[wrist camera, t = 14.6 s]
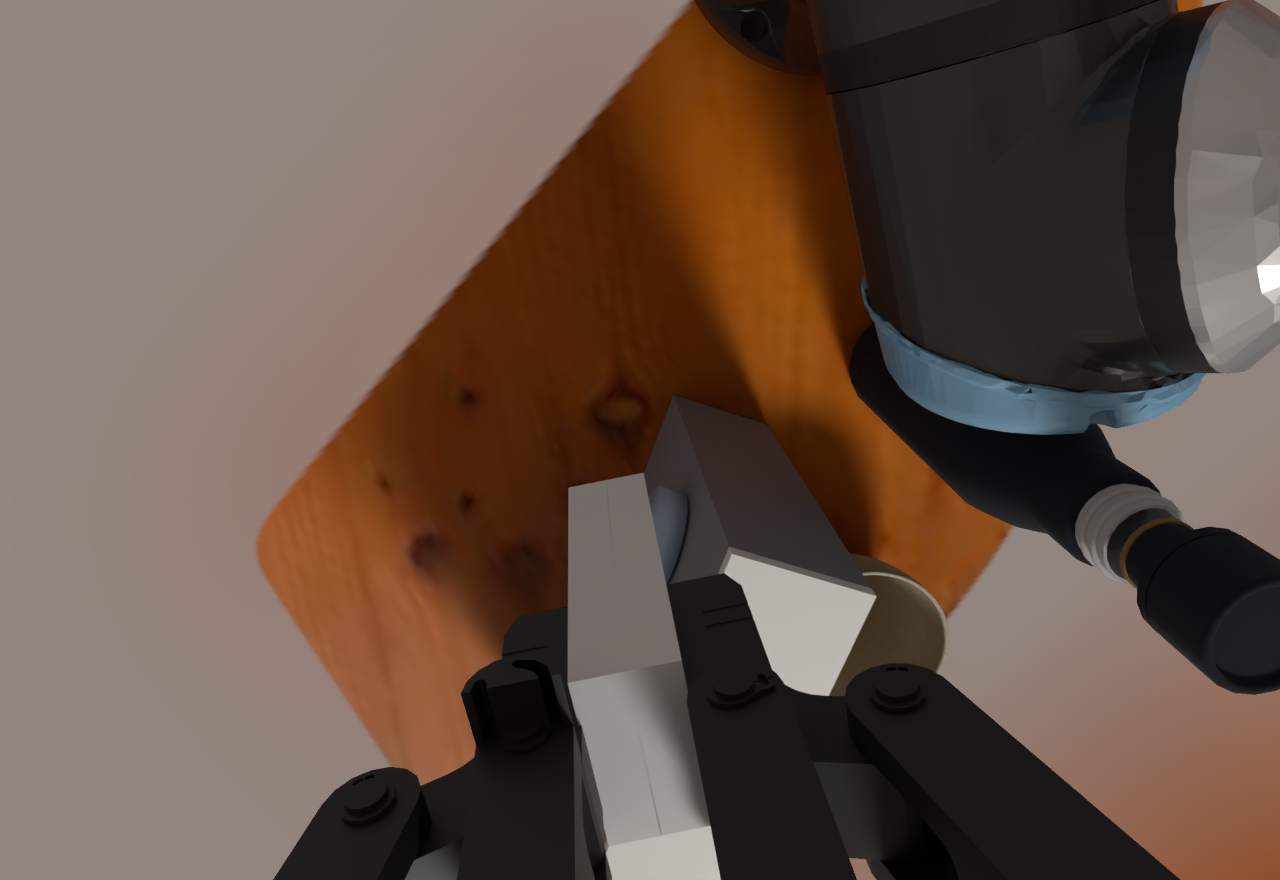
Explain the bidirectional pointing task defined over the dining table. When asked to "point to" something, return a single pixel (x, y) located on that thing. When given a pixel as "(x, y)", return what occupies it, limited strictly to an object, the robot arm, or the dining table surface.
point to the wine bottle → (1104, 527)
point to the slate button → (668, 524)
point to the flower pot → (895, 625)
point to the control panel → (750, 577)
